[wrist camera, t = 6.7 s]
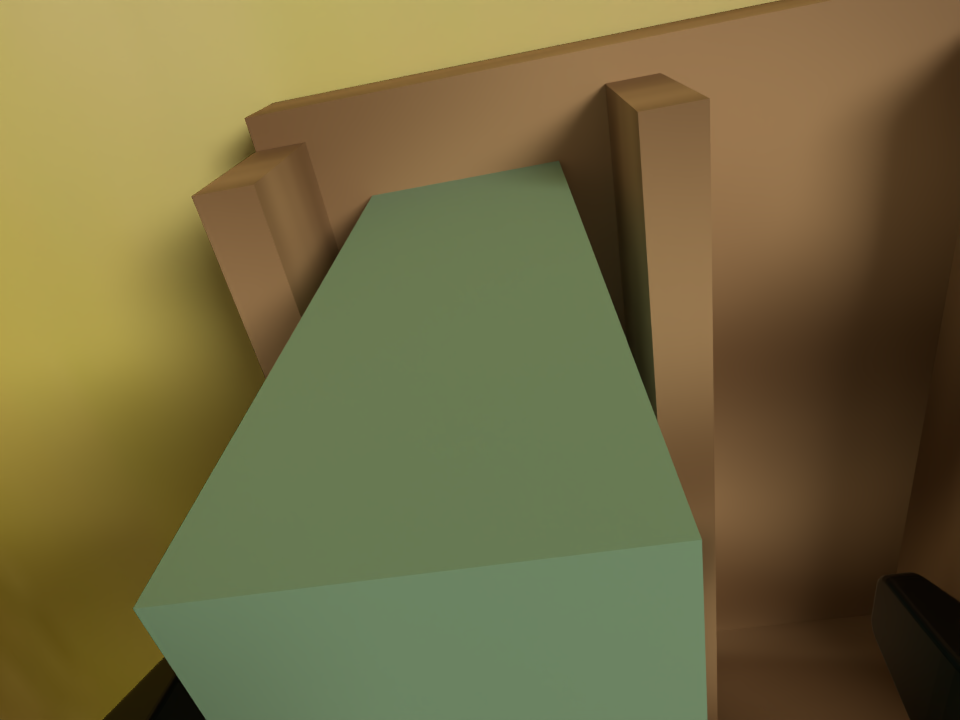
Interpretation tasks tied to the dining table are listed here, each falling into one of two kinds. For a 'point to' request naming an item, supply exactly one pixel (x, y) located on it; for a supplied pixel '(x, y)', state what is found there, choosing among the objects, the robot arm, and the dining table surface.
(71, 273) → the dining table surface
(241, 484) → the green book
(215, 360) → the dining table surface
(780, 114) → the book rack
